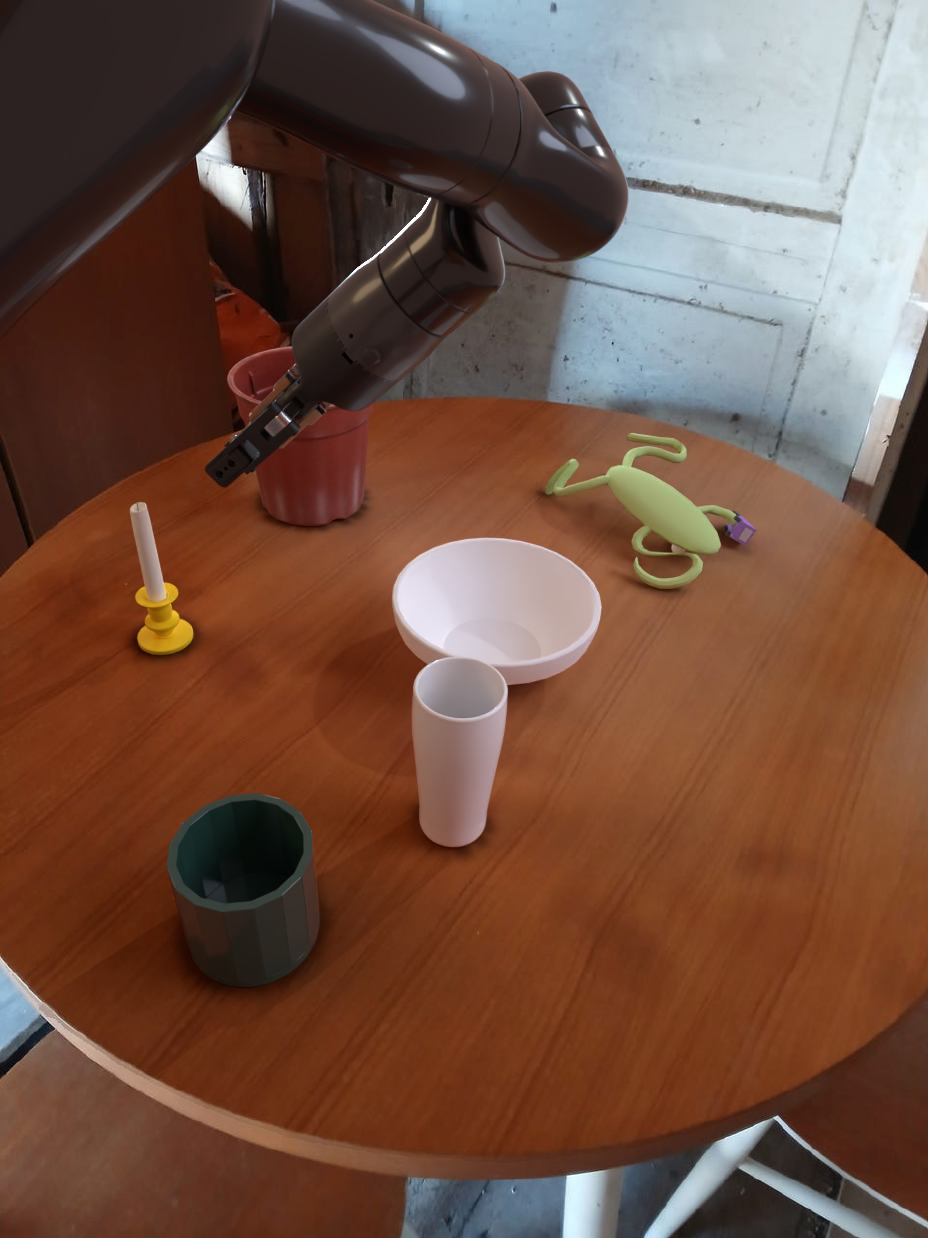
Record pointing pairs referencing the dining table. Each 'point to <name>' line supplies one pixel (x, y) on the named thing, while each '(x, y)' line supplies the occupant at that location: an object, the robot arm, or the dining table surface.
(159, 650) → the candle
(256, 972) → the cup
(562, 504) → the dining table surface
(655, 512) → the figurine
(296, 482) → the flower pot
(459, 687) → the drinking glass
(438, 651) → the bowl
